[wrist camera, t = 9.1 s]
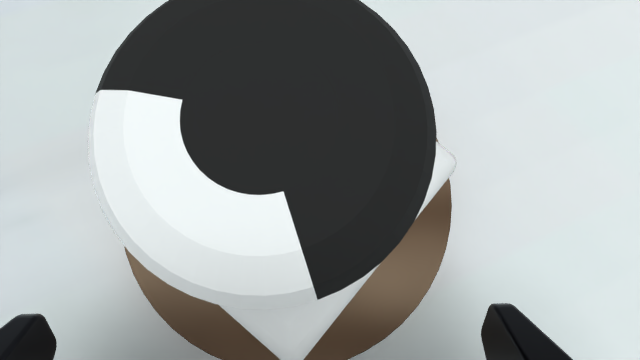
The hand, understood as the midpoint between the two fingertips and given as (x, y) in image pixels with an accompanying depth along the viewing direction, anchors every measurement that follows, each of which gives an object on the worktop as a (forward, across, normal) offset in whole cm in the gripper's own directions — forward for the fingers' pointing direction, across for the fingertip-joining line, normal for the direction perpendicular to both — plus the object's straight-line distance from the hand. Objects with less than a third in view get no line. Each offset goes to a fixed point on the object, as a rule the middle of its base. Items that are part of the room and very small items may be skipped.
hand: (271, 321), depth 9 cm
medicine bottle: (+9, 0, +4) cm, 10 cm away
